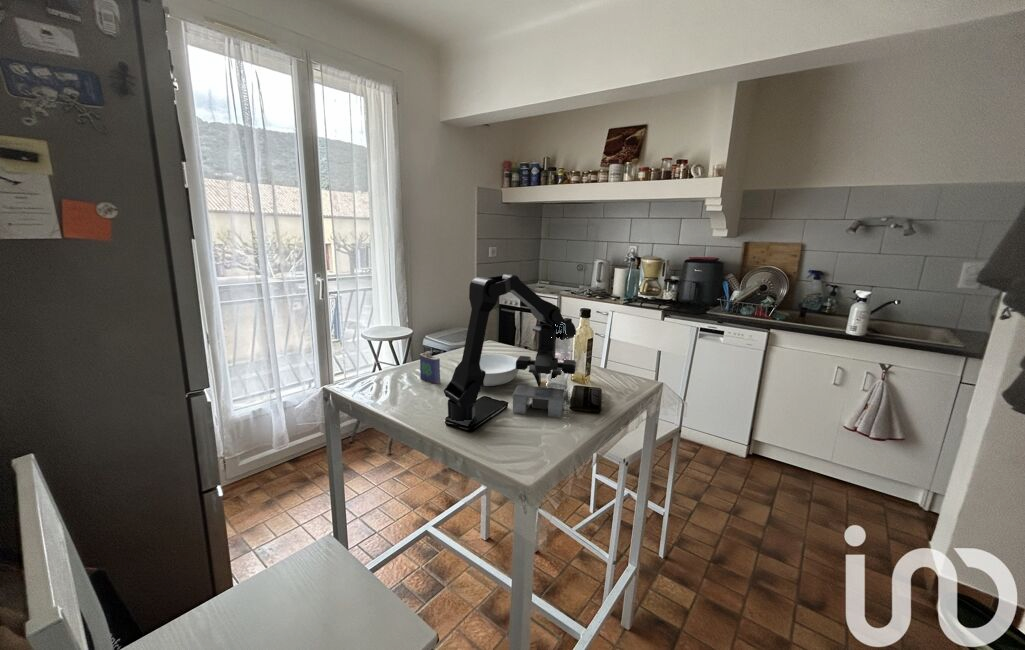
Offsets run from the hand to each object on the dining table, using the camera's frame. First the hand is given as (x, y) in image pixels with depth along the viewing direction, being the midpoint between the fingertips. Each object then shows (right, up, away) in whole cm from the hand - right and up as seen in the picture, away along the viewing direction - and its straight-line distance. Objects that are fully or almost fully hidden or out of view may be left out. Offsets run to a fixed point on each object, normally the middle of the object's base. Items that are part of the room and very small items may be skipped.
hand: (545, 389), depth 131 cm
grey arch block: (-3, -4, -12) cm, 13 cm away
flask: (-39, +1, +9) cm, 40 cm away
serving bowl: (-19, +1, +10) cm, 21 cm away
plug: (-1, -2, -4) cm, 5 cm away
